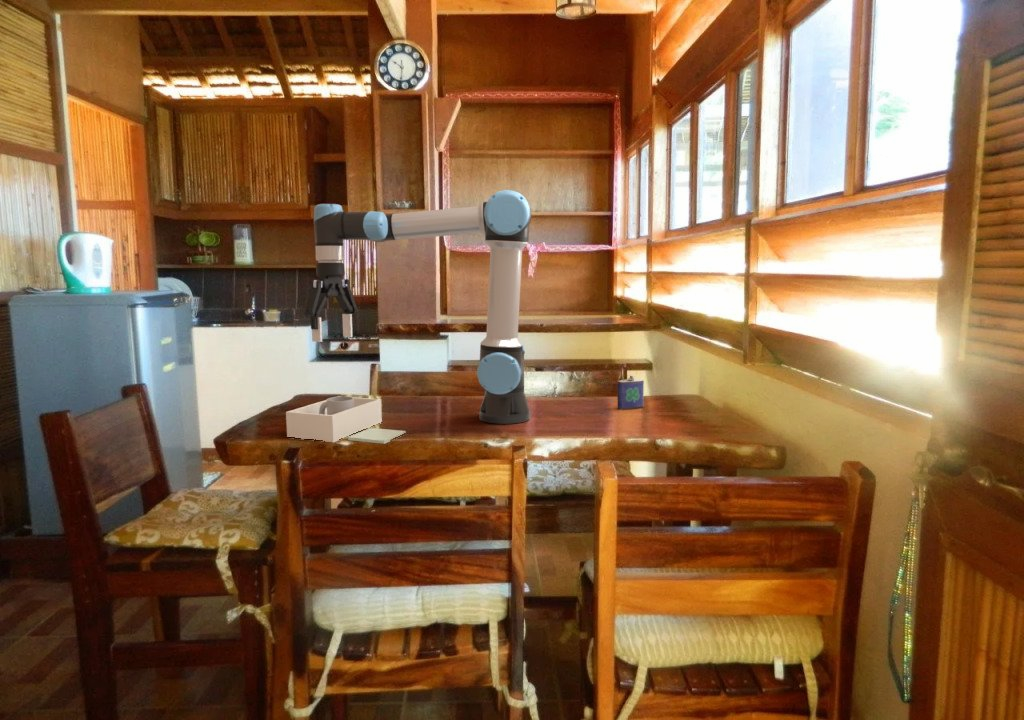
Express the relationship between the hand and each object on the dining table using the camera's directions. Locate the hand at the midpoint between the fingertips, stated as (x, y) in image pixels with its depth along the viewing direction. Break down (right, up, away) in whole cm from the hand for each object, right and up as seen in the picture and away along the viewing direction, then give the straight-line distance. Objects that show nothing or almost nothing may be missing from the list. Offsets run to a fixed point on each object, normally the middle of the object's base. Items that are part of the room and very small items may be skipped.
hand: (333, 339), depth 190 cm
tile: (+14, -26, -8) cm, 31 cm away
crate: (+1, -25, 0) cm, 25 cm away
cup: (+1, -26, 0) cm, 26 cm away
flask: (+88, -21, +27) cm, 94 cm away
